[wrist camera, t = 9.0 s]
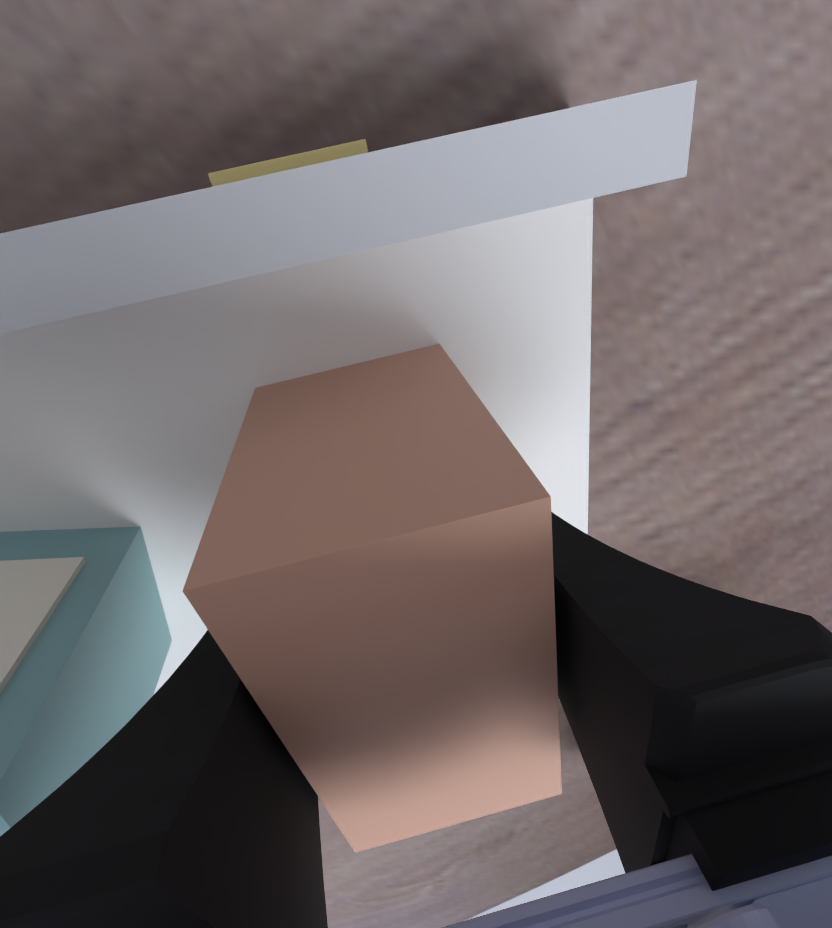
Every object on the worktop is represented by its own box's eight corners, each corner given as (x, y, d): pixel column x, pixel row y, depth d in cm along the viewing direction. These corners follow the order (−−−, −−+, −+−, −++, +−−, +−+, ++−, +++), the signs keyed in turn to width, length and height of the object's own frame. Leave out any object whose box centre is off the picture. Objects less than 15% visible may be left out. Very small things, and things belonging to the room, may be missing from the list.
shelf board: (-25, 746, 17) (-112, 885, 14) (-561, 354, 9) (-1101, 454, 6) (573, 587, 18) (631, 679, 15) (571, 105, 10) (698, 62, 7)
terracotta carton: (345, 611, 15) (355, 852, 10) (254, 387, 11) (182, 591, 5) (481, 575, 15) (568, 791, 10) (445, 342, 11) (562, 493, 6)
